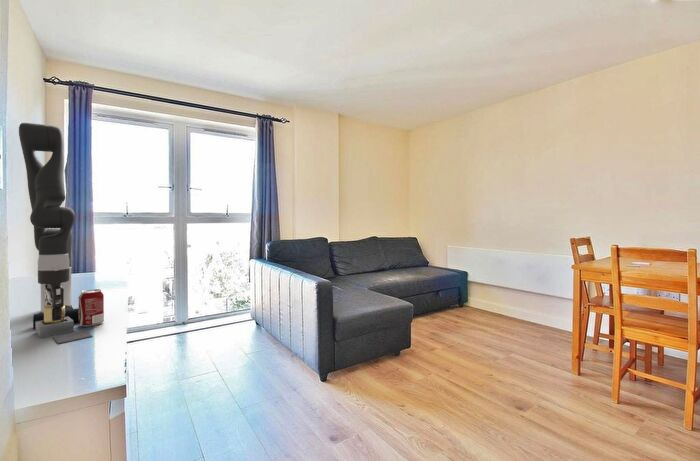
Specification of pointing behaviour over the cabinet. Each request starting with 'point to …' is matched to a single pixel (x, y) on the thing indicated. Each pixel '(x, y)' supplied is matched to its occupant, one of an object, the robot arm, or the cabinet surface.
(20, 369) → the cabinet surface
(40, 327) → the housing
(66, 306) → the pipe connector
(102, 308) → the soda can
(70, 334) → the mat
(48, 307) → the brass cylinder
